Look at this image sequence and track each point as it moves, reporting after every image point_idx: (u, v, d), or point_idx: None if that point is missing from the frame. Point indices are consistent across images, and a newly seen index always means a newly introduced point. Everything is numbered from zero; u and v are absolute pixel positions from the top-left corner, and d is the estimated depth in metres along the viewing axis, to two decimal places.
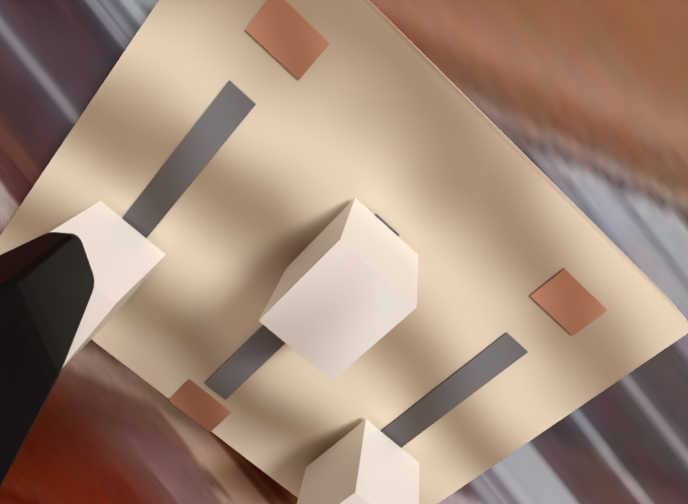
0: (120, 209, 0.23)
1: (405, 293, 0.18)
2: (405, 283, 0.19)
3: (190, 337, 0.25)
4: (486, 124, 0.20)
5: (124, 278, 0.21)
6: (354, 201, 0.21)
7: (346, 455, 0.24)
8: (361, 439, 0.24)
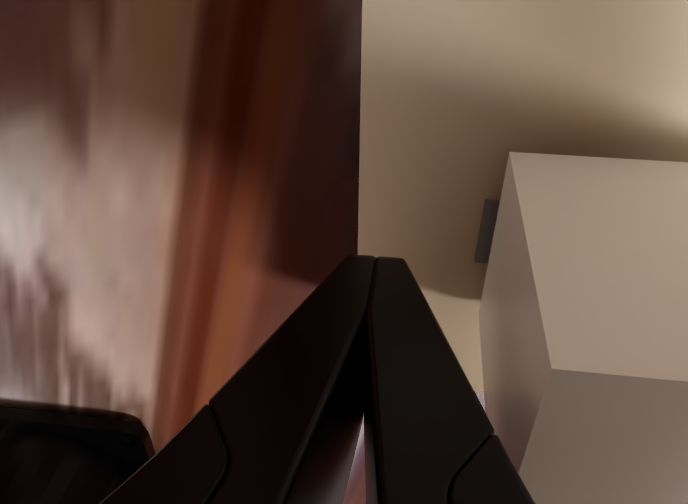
0: None
1: None
2: None
3: None
4: None
5: None
6: None
7: None
8: None
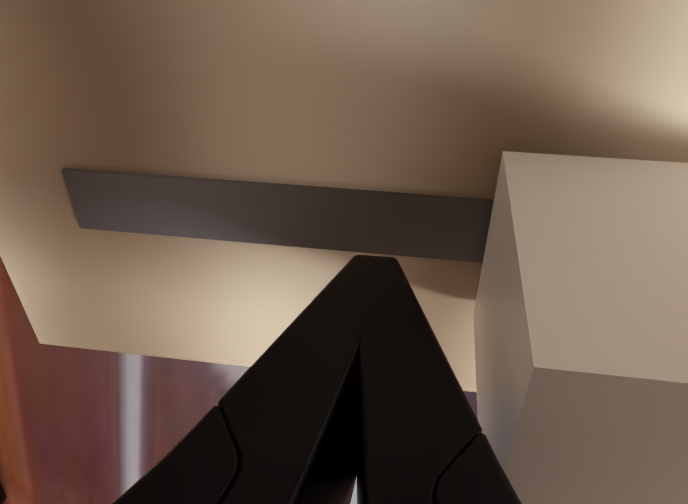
0: None
1: None
2: None
3: None
4: None
5: None
6: None
7: None
8: None
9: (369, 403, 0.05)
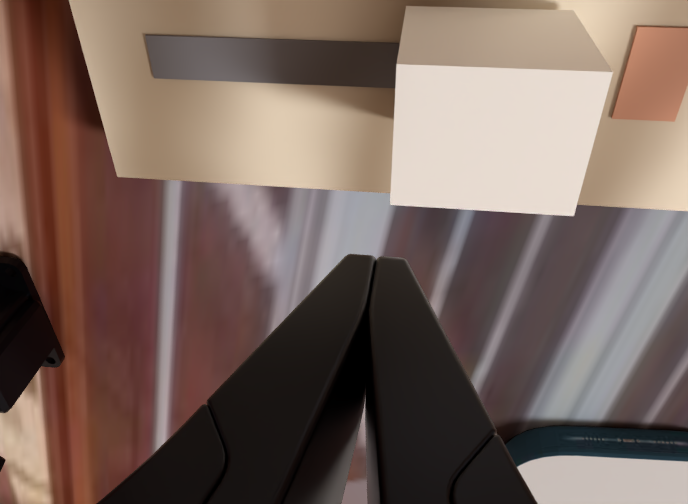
0: None
1: None
2: None
3: None
4: None
5: None
6: None
7: (541, 28, 0.13)
8: (578, 25, 0.13)
9: (383, 404, 0.05)
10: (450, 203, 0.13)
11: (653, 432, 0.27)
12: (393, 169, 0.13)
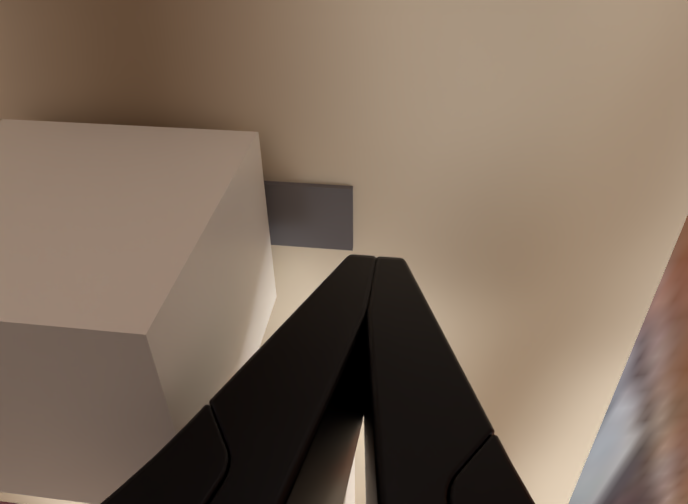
0: None
1: None
2: None
3: None
4: (675, 232, 0.09)
5: None
6: (251, 145, 0.08)
7: None
8: None
9: (381, 404, 0.05)
10: None
11: None
12: None
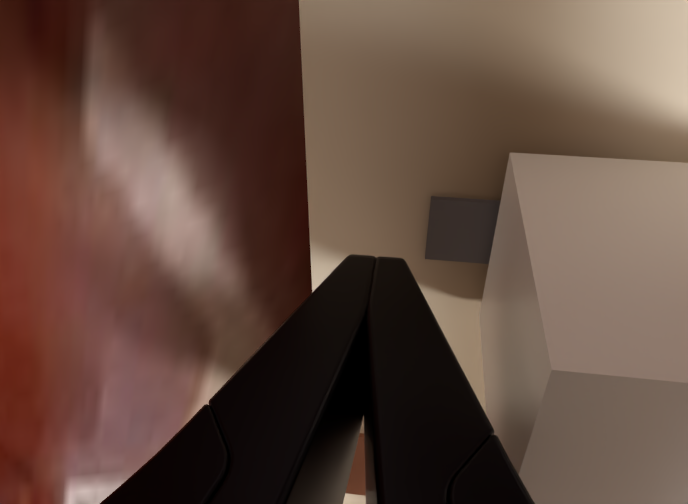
0: None
1: None
2: None
3: None
4: None
5: None
6: None
7: None
8: None
9: (380, 404, 0.05)
10: None
11: None
12: None
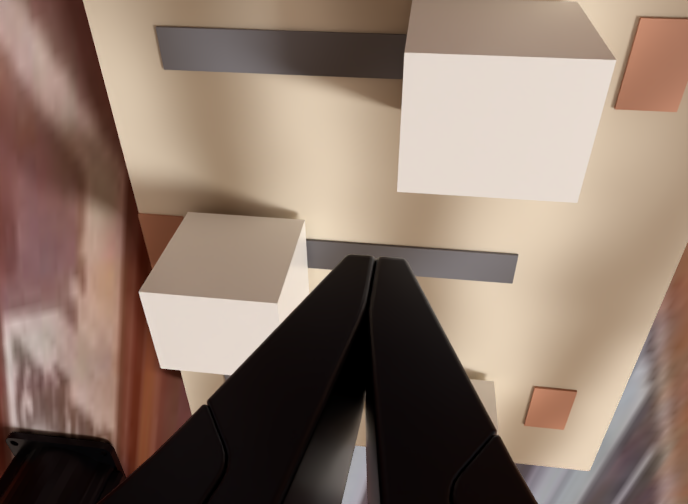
0: (300, 20, 0.16)
1: None
2: None
3: (229, 189, 0.19)
4: (670, 276, 0.19)
5: None
6: (302, 226, 0.19)
7: None
8: (493, 406, 0.22)
9: (383, 404, 0.05)
10: None
11: None
12: None
